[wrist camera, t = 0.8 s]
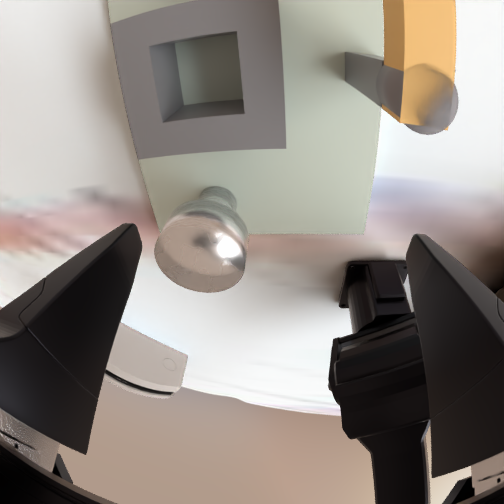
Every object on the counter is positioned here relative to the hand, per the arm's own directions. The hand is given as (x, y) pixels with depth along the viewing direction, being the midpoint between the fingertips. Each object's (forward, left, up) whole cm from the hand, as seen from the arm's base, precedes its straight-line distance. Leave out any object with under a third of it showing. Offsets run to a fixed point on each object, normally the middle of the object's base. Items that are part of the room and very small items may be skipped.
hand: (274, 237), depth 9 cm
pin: (-6, +5, -12) cm, 14 cm away
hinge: (-28, +21, -13) cm, 37 cm away
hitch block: (+3, +2, -13) cm, 13 cm away
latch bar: (+9, -5, -4) cm, 11 cm away
